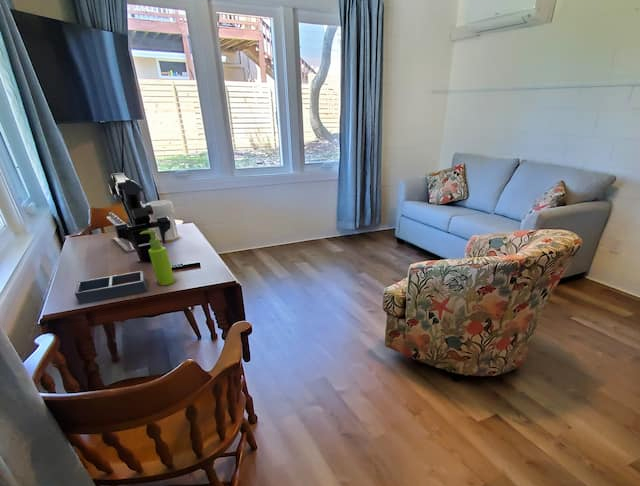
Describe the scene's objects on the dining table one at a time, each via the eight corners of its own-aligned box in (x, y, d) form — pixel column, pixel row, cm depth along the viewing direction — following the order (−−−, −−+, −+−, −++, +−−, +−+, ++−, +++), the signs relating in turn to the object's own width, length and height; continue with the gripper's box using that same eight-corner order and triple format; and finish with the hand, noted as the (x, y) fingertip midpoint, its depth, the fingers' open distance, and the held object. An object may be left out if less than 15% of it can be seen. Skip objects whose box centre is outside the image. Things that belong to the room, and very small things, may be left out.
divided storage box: (82, 291, 146) (77, 281, 144) (145, 280, 154) (142, 270, 152) (79, 304, 138) (74, 293, 135) (146, 291, 146) (143, 281, 143)
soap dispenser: (158, 279, 155) (143, 228, 144) (176, 278, 155) (162, 228, 145) (153, 285, 150) (136, 233, 139) (172, 284, 150) (157, 233, 140)
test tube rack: (137, 250, 183) (127, 221, 176) (126, 252, 181) (117, 223, 174) (123, 237, 199) (114, 210, 192) (113, 239, 197) (104, 212, 190)
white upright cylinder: (175, 242, 191) (165, 205, 182) (152, 242, 192) (141, 206, 182) (184, 235, 201) (175, 199, 192) (162, 235, 201) (152, 200, 192)
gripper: (106, 202, 140) (122, 240, 139) (161, 194, 150) (177, 230, 148) (110, 219, 150) (125, 255, 148) (162, 211, 159) (177, 245, 157)
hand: (151, 246), depth 150 cm, fingers open, 9 cm apart
